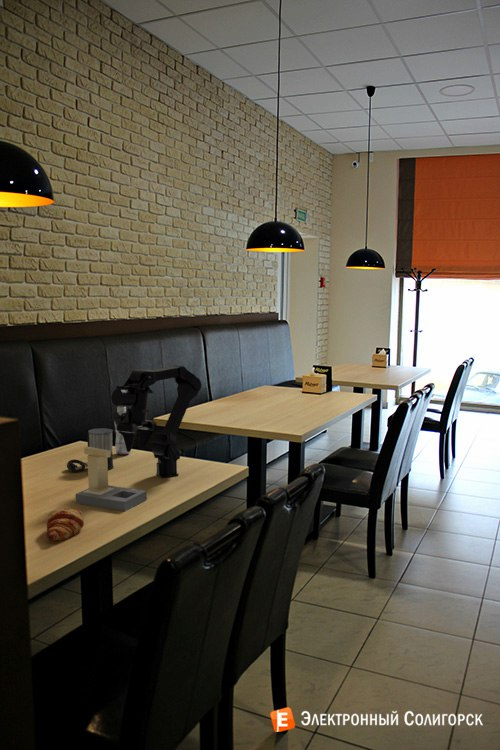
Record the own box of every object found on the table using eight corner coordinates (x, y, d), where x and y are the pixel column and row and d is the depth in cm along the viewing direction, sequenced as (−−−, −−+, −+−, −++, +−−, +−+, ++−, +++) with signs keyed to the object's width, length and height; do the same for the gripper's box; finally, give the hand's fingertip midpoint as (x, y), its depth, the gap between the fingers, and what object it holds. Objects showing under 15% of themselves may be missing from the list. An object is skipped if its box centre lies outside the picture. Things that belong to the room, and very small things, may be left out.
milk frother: (119, 467, 250) (117, 429, 248) (88, 477, 236) (86, 437, 235) (93, 462, 257) (91, 425, 255) (61, 471, 244) (60, 432, 242)
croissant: (69, 529, 194) (57, 506, 194) (98, 514, 193) (85, 491, 192) (42, 556, 173) (27, 530, 173) (74, 540, 172) (59, 514, 171)
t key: (92, 485, 215) (91, 445, 213) (114, 490, 210) (113, 449, 208) (82, 488, 211) (81, 448, 210) (104, 494, 206) (103, 452, 204)
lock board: (146, 499, 210) (146, 490, 210) (124, 511, 199) (124, 501, 199) (99, 492, 218) (99, 483, 217) (75, 503, 207) (75, 493, 207)
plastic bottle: (117, 456, 265) (116, 408, 262) (113, 453, 271) (111, 406, 268) (132, 455, 268) (131, 407, 265) (128, 451, 274) (126, 405, 271)
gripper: (131, 402, 236) (127, 445, 236) (104, 404, 218) (100, 450, 219) (158, 405, 233) (155, 449, 233) (133, 407, 215) (129, 454, 215)
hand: (135, 450), depth 225 cm, fingers open, 9 cm apart
